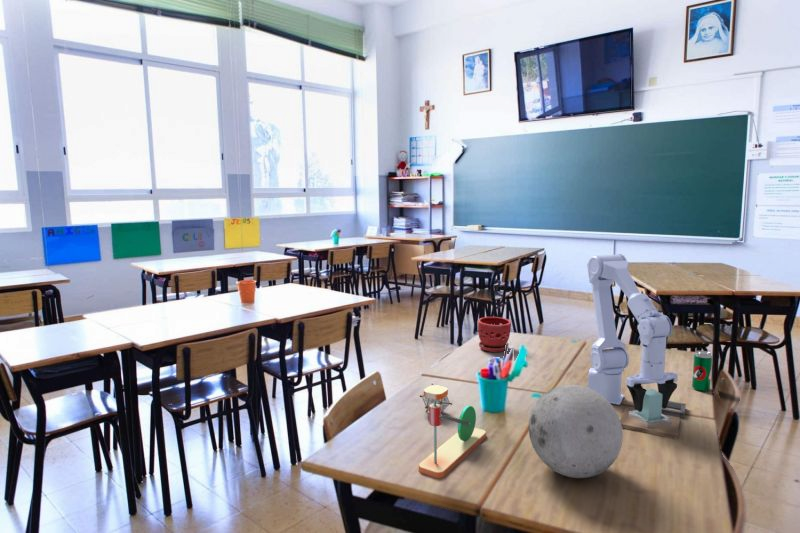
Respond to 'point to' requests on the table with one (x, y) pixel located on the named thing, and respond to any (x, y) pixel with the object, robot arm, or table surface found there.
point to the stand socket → (673, 412)
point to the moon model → (575, 431)
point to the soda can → (702, 371)
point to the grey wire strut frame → (442, 402)
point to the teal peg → (651, 405)
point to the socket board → (654, 430)
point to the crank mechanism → (458, 443)
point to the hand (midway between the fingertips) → (650, 408)
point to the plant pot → (493, 333)
